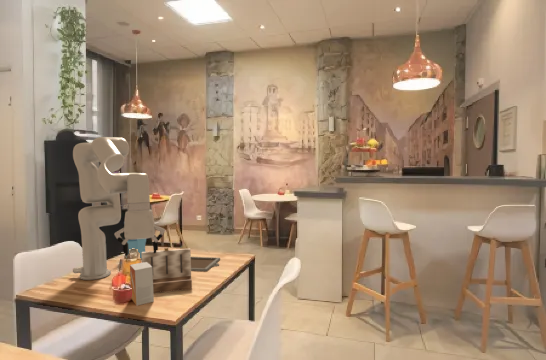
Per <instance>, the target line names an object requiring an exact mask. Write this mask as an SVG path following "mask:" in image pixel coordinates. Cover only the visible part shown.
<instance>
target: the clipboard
mask: <svg viewBox="0 0 546 360" xmlns="http://www.w3.org/2000/svg"><path fill="white" fill-rule="evenodd" d="M220 261H221V257H212V256H211V257H209V256H206V257H205V256H191V272H208V271H209V270H210V269H211V268H213V267H214V268H215V267H219V266H220V264H219V263H218V262H220Z"/></svg>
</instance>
